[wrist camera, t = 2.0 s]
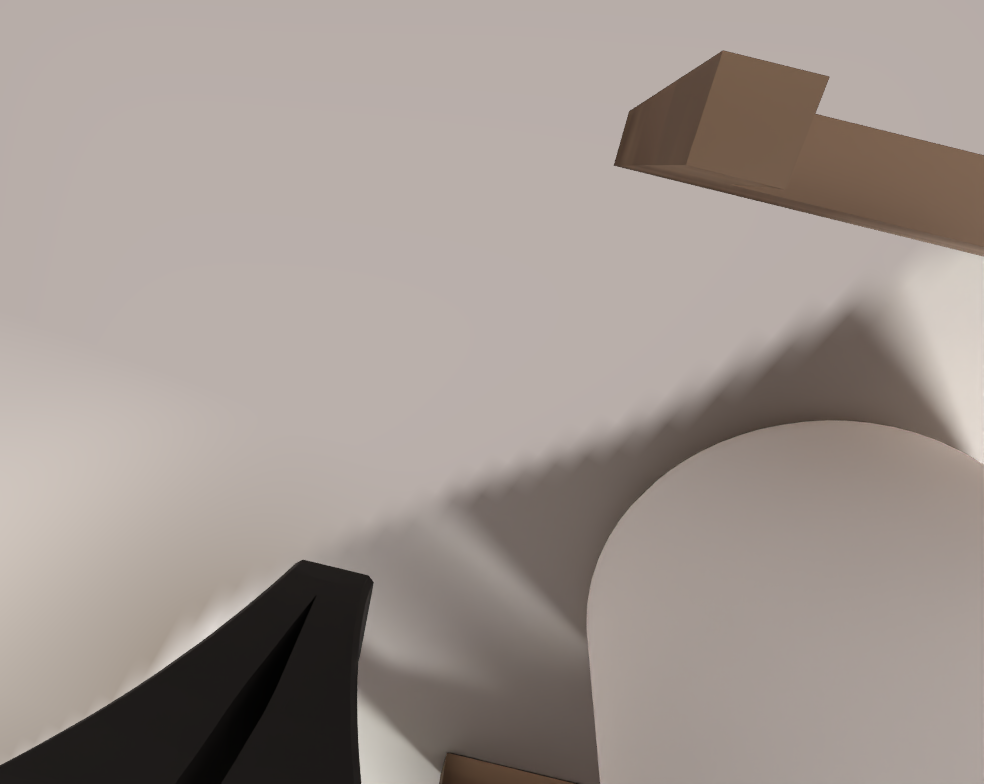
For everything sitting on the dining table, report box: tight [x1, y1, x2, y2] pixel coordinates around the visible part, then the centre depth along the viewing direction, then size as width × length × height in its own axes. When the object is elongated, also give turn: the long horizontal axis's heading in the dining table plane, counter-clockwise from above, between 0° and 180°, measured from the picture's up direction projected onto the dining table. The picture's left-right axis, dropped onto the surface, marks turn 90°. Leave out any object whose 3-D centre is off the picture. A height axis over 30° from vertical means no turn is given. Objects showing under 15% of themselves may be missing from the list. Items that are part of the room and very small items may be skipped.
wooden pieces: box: [439, 51, 984, 784], centre depth 12 cm, size 19×16×6 cm
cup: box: [587, 420, 984, 784], centre depth 10 cm, size 10×10×10 cm
